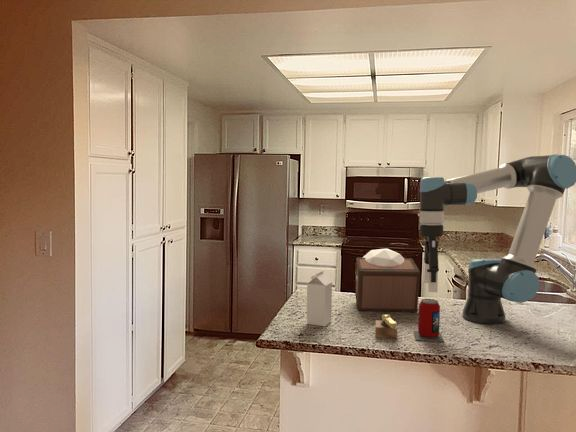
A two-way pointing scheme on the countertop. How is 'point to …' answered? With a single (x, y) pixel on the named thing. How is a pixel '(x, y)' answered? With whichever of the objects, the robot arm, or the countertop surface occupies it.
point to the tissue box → (386, 282)
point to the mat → (420, 338)
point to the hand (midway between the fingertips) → (430, 287)
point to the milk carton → (319, 300)
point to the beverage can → (429, 318)
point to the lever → (388, 321)
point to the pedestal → (385, 330)
